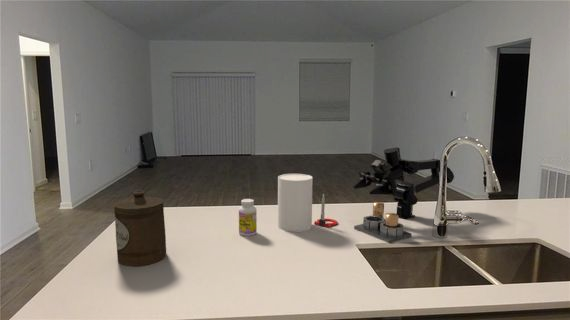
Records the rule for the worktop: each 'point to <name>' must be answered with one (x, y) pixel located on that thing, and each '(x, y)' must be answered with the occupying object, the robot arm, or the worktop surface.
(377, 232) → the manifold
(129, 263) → the wooden container
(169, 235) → the worktop surface
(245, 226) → the supplement bottle
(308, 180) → the canister
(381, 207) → the brass peg
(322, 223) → the tow hook
